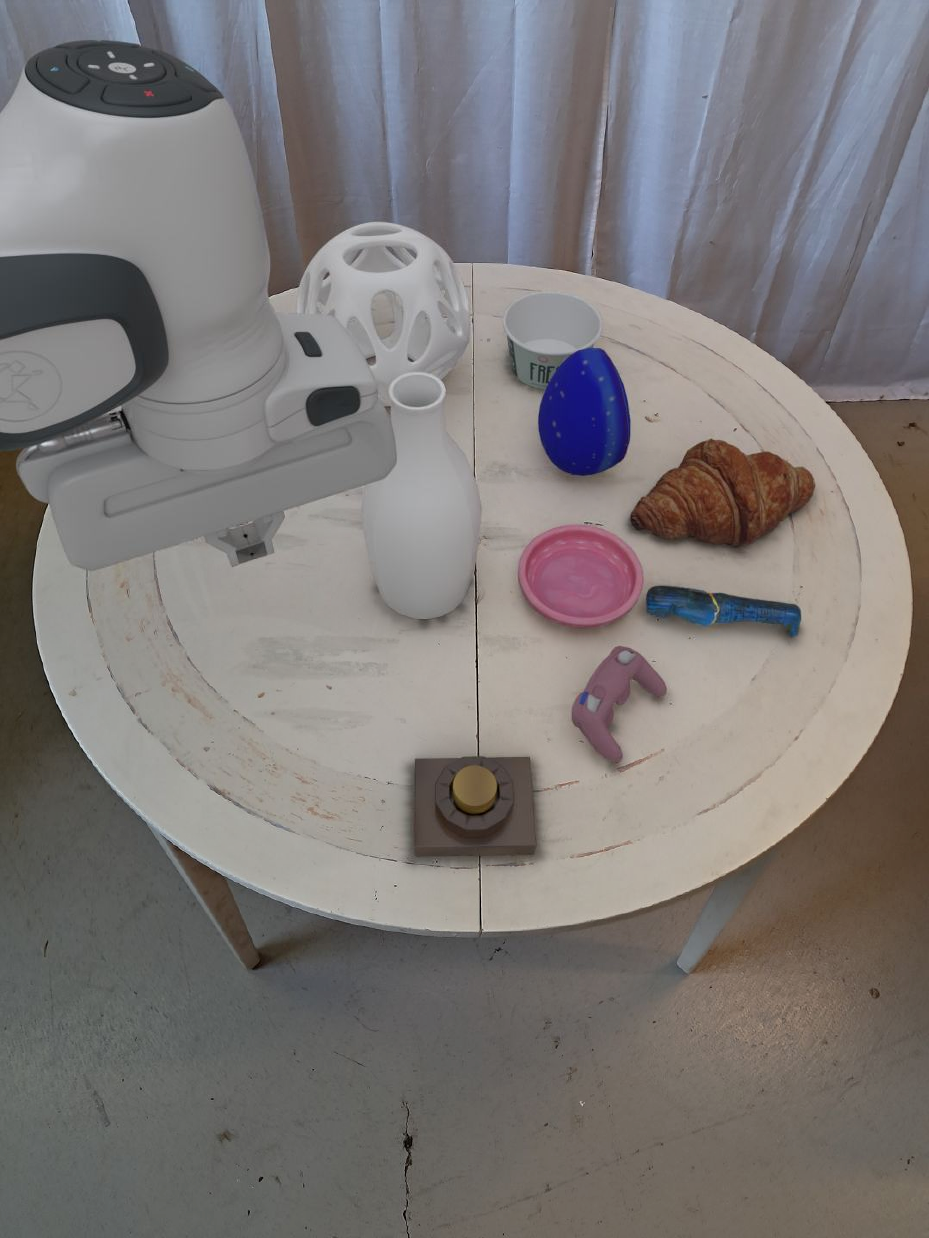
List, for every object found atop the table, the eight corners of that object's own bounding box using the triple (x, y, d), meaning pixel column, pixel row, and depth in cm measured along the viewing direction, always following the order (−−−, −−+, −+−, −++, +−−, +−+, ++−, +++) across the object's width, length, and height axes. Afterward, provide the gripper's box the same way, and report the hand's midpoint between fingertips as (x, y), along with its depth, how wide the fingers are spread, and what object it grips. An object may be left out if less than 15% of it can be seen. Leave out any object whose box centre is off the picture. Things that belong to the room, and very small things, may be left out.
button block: (415, 857, 74) (413, 839, 70) (415, 769, 78) (414, 748, 75) (534, 854, 74) (538, 837, 71) (528, 767, 78) (531, 747, 75)
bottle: (367, 547, 93) (344, 347, 72) (473, 540, 93) (480, 341, 73) (370, 634, 86) (346, 443, 65) (483, 627, 87) (495, 435, 66)
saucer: (552, 658, 85) (556, 639, 82) (495, 565, 91) (497, 546, 89) (661, 614, 88) (668, 595, 86) (599, 528, 95) (603, 508, 92)
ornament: (633, 485, 98) (660, 378, 86) (557, 504, 96) (574, 398, 84) (593, 420, 104) (613, 311, 92) (521, 437, 102) (531, 329, 90)
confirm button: (453, 814, 72) (453, 806, 71) (452, 774, 74) (452, 765, 73) (497, 813, 72) (498, 805, 71) (495, 773, 74) (495, 764, 73)
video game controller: (630, 681, 86) (612, 629, 81) (672, 691, 82) (655, 638, 78) (578, 756, 81) (555, 704, 77) (620, 770, 78) (599, 717, 74)
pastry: (690, 436, 103) (706, 382, 96) (816, 490, 98) (842, 437, 92) (624, 527, 95) (637, 475, 88) (758, 590, 90) (783, 540, 84)
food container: (576, 328, 114) (583, 283, 109) (609, 388, 108) (618, 344, 102) (487, 343, 112) (489, 298, 107) (516, 405, 106) (519, 360, 100)
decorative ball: (481, 426, 103) (486, 296, 89) (311, 442, 101) (289, 312, 87) (456, 321, 115) (457, 190, 100) (302, 333, 113) (281, 202, 98)
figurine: (791, 620, 89) (641, 604, 90) (801, 589, 87) (647, 573, 88) (799, 649, 85) (642, 632, 87) (809, 617, 83) (648, 601, 84)
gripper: (13, 488, 42) (101, 644, 54) (404, 376, 48) (409, 539, 59) (-8, 405, 46) (79, 569, 57) (361, 309, 51) (373, 476, 62)
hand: (250, 553), depth 58 cm, fingers closed
